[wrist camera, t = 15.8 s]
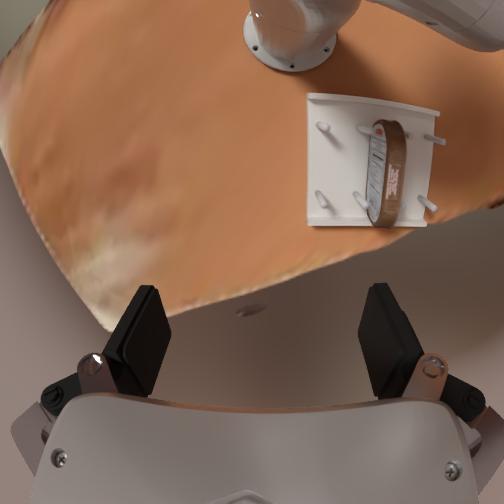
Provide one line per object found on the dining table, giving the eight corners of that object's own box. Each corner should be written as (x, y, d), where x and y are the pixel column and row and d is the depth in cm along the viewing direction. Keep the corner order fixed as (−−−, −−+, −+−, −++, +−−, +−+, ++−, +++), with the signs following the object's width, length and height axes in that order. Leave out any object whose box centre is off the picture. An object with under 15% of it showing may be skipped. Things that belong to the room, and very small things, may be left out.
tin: (377, 214, 39) (398, 239, 32) (359, 214, 39) (377, 239, 32) (385, 118, 32) (413, 123, 24) (365, 116, 32) (390, 119, 25)
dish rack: (306, 93, 32) (313, 90, 27) (430, 110, 31) (453, 113, 25) (305, 218, 42) (311, 236, 36) (419, 220, 40) (436, 236, 35)
